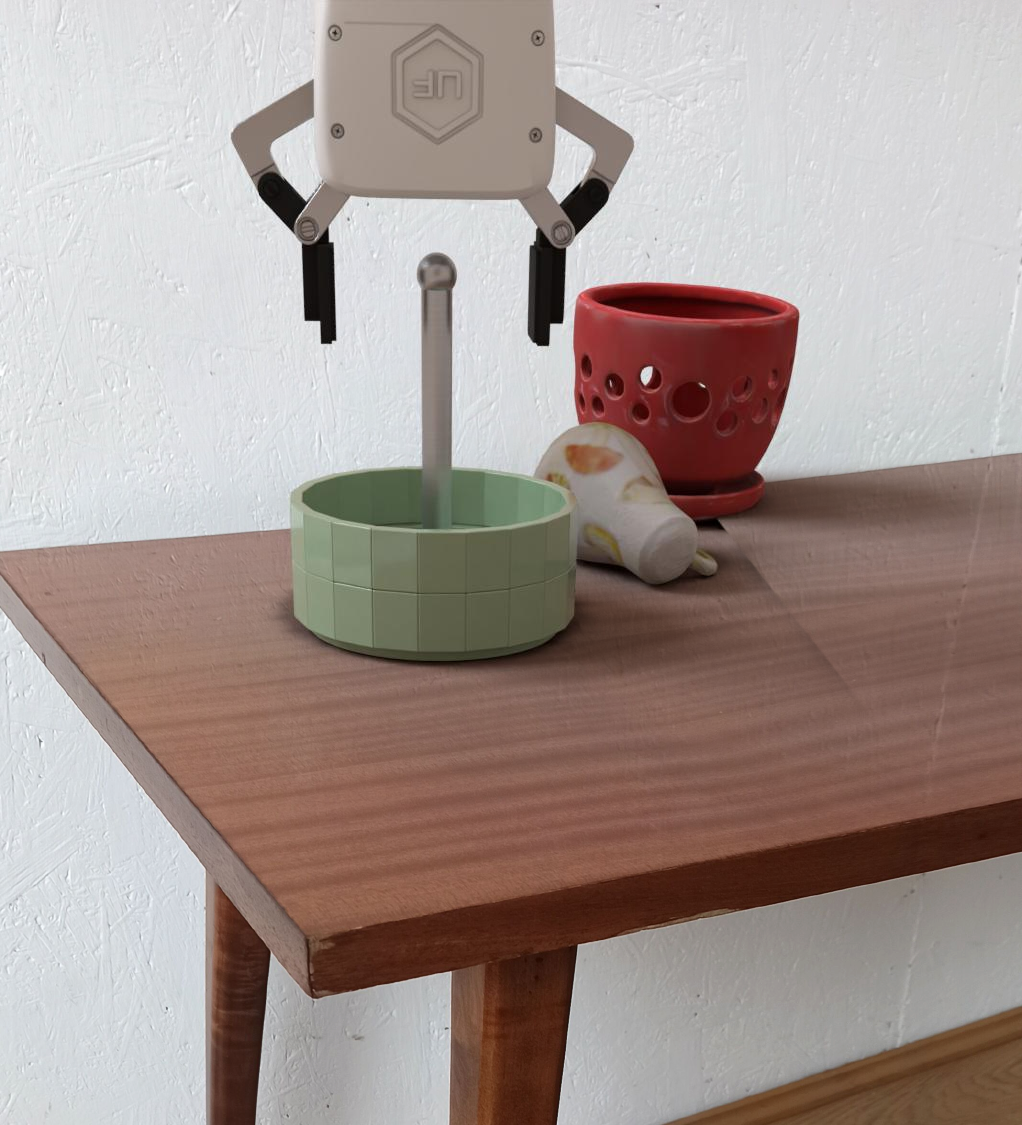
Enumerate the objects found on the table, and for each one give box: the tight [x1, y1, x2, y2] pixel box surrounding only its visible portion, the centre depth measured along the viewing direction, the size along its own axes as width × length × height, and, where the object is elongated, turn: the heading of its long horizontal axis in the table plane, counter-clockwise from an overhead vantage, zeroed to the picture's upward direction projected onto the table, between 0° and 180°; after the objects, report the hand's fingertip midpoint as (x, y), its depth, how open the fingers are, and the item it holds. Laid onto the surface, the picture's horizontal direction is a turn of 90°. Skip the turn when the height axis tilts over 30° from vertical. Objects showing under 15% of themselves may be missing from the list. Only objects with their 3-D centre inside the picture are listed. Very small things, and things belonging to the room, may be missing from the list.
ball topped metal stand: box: [416, 251, 458, 529], centre depth 82 cm, size 5×5×16 cm
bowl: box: [289, 465, 579, 662], centre depth 85 cm, size 14×14×6 cm
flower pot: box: [572, 281, 800, 523], centre depth 105 cm, size 13×13×12 cm
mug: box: [532, 422, 718, 585], centre depth 95 cm, size 8×10×10 cm
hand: (433, 340), depth 80 cm, fingers open, 9 cm apart
